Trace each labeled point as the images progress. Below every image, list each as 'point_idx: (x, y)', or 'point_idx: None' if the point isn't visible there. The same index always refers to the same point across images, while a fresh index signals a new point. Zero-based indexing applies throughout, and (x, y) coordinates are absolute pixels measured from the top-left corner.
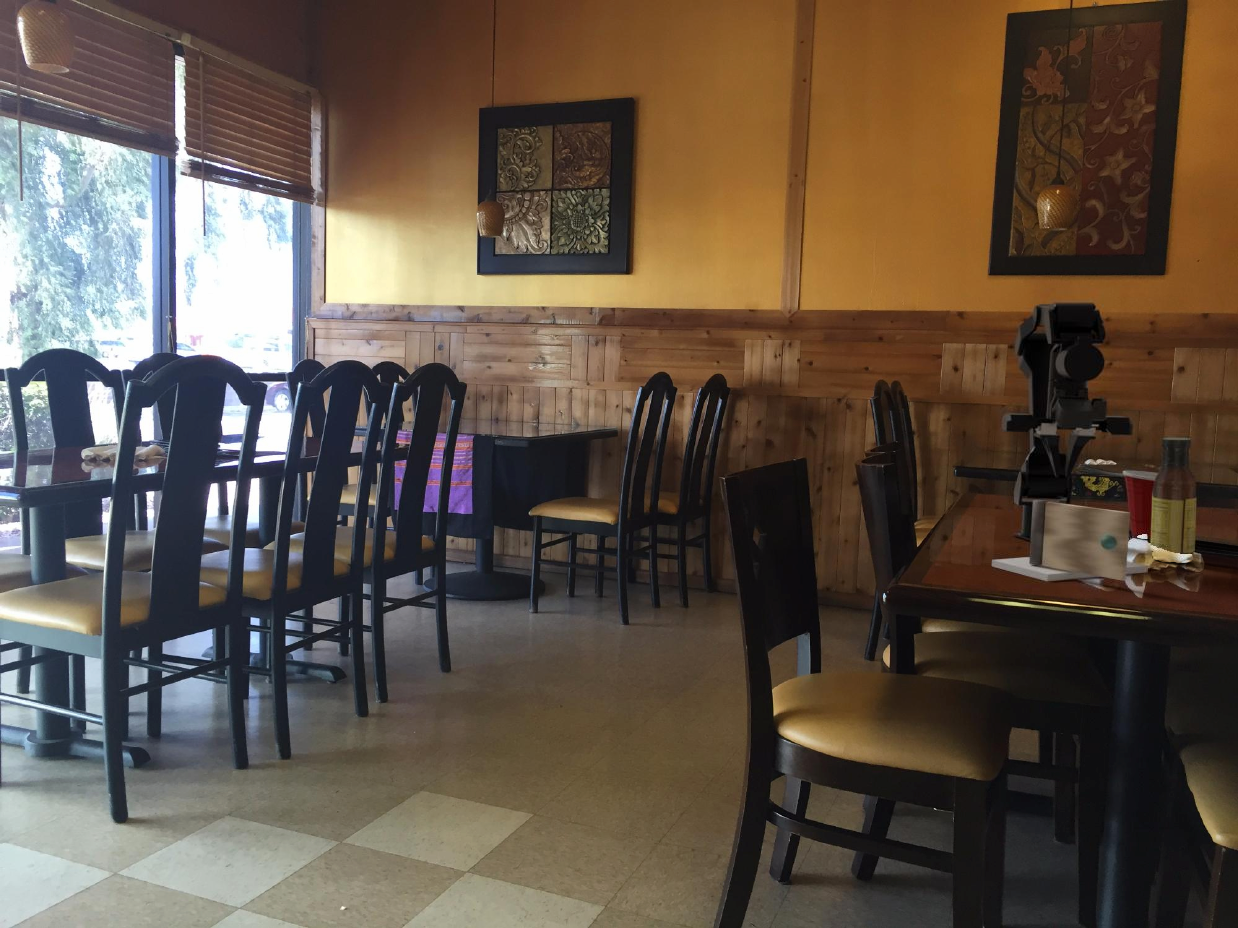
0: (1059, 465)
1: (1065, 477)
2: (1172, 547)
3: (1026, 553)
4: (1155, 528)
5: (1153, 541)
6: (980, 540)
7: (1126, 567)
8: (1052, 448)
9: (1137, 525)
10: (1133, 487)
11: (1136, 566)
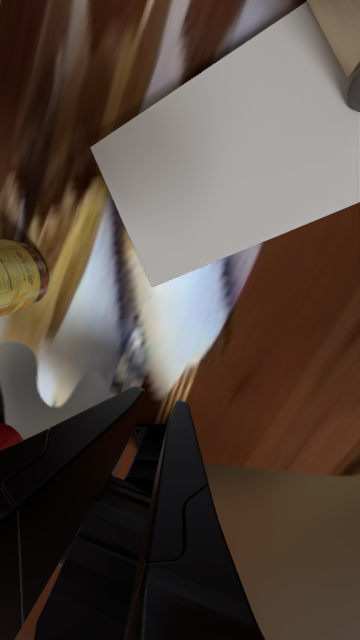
0: (168, 430)
1: (83, 534)
2: (7, 244)
3: (255, 331)
4: (2, 277)
5: (26, 278)
6: (282, 449)
7: (141, 114)
8: (210, 563)
9: None
10: None
11: (115, 133)
